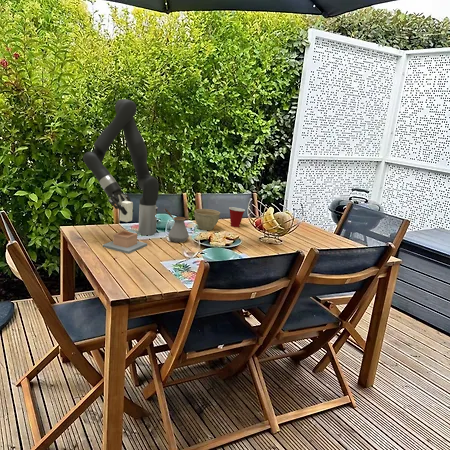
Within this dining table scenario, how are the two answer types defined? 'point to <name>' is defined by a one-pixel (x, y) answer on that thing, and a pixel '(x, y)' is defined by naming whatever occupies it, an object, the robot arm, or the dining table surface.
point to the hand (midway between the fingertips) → (129, 213)
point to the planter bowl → (206, 218)
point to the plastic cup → (236, 216)
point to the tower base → (126, 250)
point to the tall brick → (128, 208)
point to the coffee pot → (178, 229)
